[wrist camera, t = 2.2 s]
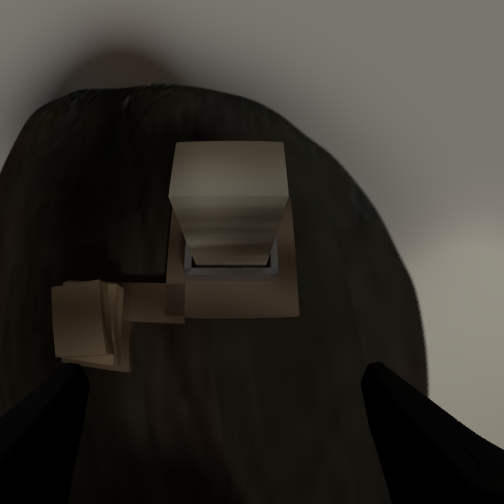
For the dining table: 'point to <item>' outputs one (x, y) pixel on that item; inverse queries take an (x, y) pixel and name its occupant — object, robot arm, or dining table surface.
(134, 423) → the dining table surface
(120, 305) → the lower offcut
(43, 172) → the dining table surface
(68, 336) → the upper offcut
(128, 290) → the rack
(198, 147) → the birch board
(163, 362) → the dining table surface
